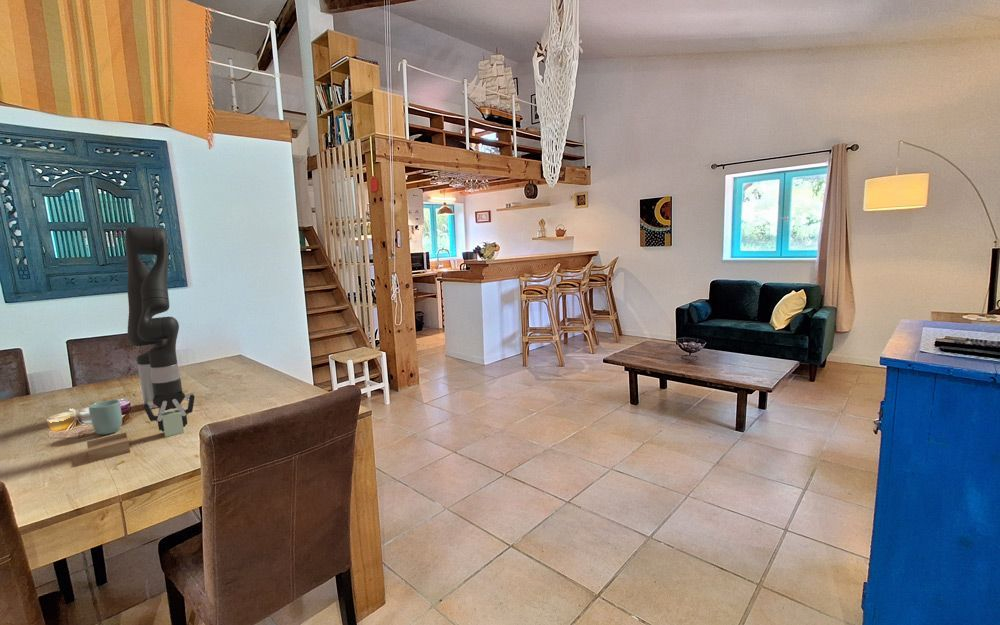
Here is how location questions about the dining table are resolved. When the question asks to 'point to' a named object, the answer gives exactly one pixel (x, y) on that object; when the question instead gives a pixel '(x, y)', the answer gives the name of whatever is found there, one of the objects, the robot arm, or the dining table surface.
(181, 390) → the robot arm
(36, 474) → the dining table surface
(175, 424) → the green block
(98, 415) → the cup
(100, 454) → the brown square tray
